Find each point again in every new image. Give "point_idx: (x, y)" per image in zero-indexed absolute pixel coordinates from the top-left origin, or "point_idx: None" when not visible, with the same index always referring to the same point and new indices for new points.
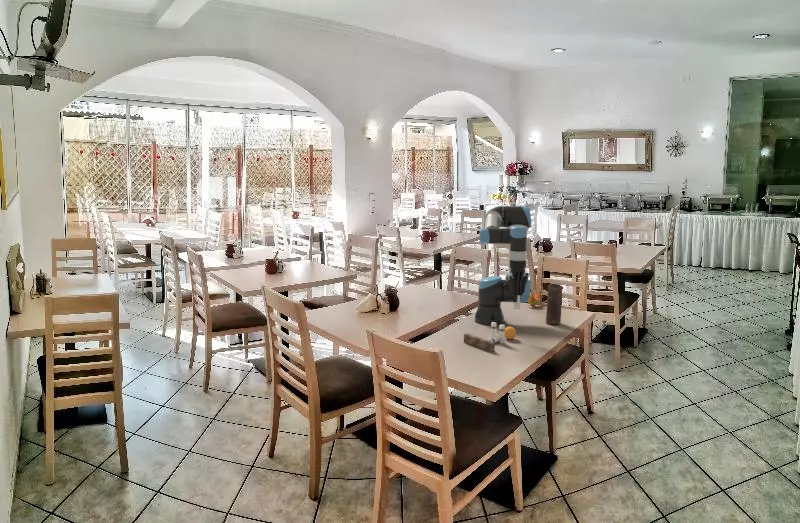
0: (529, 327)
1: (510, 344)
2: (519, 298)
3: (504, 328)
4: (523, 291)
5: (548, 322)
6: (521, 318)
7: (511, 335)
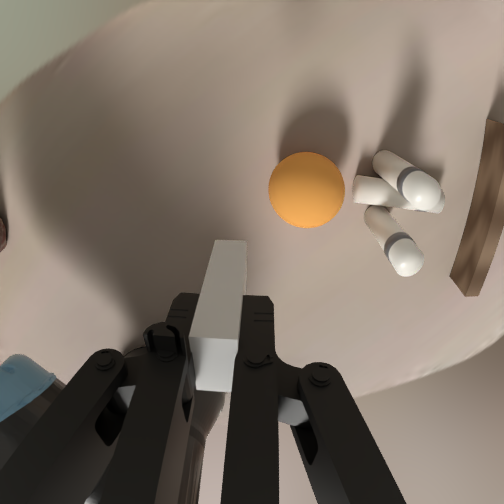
0: (84, 246)
1: (370, 119)
2: (209, 310)
3: (416, 171)
4: (104, 368)
5: (2, 228)
6: (54, 332)
7: (327, 158)
